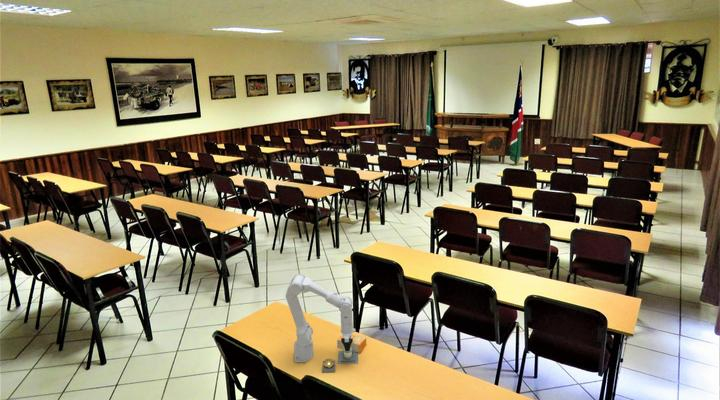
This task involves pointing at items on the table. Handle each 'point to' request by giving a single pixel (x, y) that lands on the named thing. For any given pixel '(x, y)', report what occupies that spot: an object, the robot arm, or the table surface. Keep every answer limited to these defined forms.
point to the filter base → (351, 361)
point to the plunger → (328, 363)
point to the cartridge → (348, 354)
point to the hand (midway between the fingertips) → (347, 345)
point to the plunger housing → (328, 368)
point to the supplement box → (353, 343)
